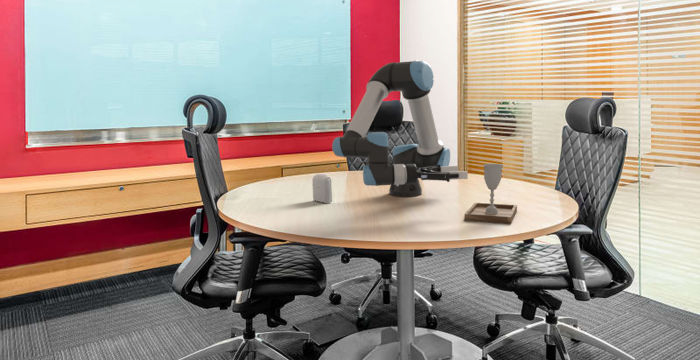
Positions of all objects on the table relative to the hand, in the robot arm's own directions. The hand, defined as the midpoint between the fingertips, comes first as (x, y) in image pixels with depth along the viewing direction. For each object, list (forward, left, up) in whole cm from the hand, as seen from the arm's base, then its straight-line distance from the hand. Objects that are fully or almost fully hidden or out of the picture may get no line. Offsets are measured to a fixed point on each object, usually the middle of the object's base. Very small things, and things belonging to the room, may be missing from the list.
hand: (462, 172), depth 186 cm
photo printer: (-9, -63, -17) cm, 66 cm away
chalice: (-4, +10, -16) cm, 19 cm away
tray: (-4, +10, -17) cm, 20 cm away
